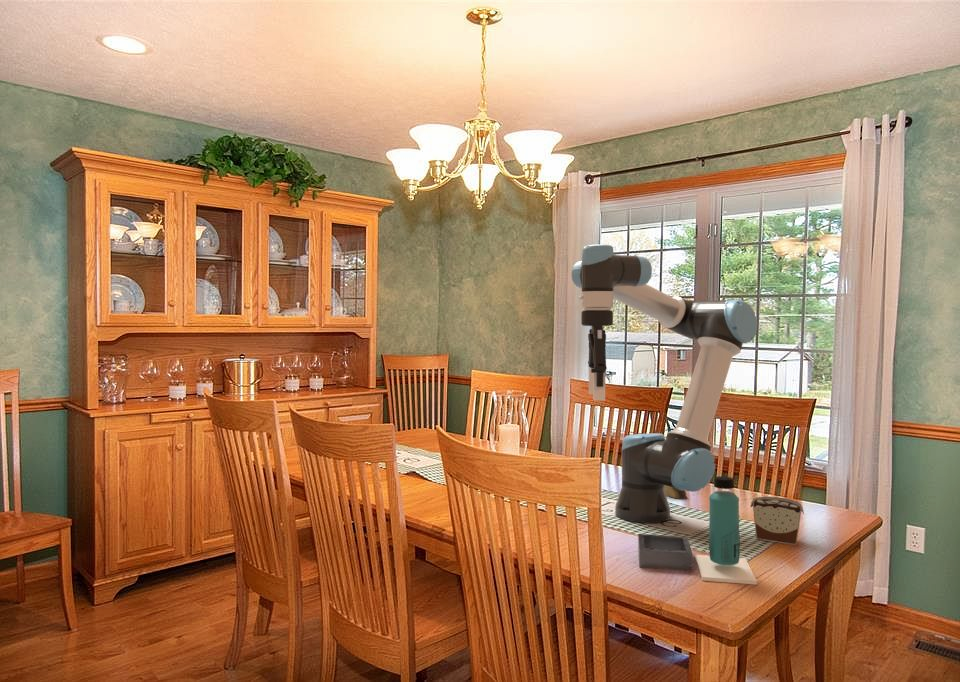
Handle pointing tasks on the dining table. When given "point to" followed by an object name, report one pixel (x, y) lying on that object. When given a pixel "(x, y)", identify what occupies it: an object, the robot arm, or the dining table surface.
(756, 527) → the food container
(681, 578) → the dining table surface
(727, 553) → the beverage bottle
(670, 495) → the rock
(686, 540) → the bottle holder
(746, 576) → the coaster pad
